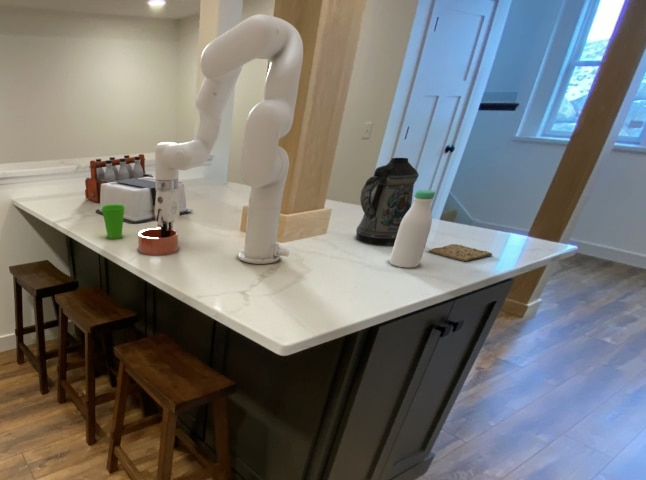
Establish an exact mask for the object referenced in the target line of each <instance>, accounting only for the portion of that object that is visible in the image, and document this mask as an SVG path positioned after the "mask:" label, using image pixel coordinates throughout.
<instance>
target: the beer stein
mask: <svg viewBox="0 0 646 480" xmlns="http://www.w3.org/2000/svg"><path fill="white" fill-rule="evenodd" d="M419 174H420V173H419V172H418V171H417V170H416V168H414V167H413V166H412V164H411V163H410V162H409V158H408V157H393V158H390V161H389V162H388V163H387V164H386V165H381V166H379V167H376V168H375V170H374V172H373V176H371V177H370V178H368V179H367V180H366V181H365V183H364V184H363V186H362V189H361V191H360V198H359V199H360V206H361V209H362V212H363V213H364V214H363V216H362V219H361V221H360V223H359V224H358V226H357V227H356V230H355V231H356V240H357V241H359V242H361V243H363V244H367V245H373V246H383V247H394V243H395V240H396V236H397V233H398V230H399V227H400V223H401V221H402V219H403V217H404V216H405V214H406V213H407V212H408V210H409V209H410V208H411V206H412V204H413V194H414V187H415V183H416V182H417V181H418V179H419V176H420V175H419Z"/></svg>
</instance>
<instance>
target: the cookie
mask: <svg viewBox="0 0 646 480" xmlns="http://www.w3.org/2000/svg"><path fill="white" fill-rule="evenodd" d="M428 252H429V253H433V254H435V255H440V256H443V257H447V258H451V259H454V260H458V261H462V262H469V261H473V260H476V259H482V258H484V257H489V256H493V253H492V252H489V251H486V250H481V249H477V248H473V247H468V246H465V245H462V244H457V243H455V244H454V243H452V244H451V243H450V244H448V245H445V246H441V247H434V248H431V249H429V251H428Z"/></svg>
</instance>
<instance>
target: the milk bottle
mask: <svg viewBox="0 0 646 480" xmlns="http://www.w3.org/2000/svg"><path fill="white" fill-rule="evenodd" d="M435 195H436V191H434V190H429V189H418V190H415V193H414V197H413V201H412V204H411V208H410V209H409V210H408V212H407V213H406V214H405V216H404V217H403V219H402V221H401V223H400V227H399V230H398V233H397V236H396V240H395V243H394V246H392V247H393V248H392V251H391V254H390V258H389V263H390V264H391V265H392V266H394V267H395V266H396V267H400V268H416V267H418V266H419V265H420V263H421V261H422V257H423V254H424V251H425V248H426V245H427V241H428V238H429V235H430V231H431V229H432V228H431V227H432V222H433V216H432V215H433V214H432V209H431V208H432V201H433V200H434V197H435Z"/></svg>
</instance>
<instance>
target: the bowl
mask: <svg viewBox="0 0 646 480" xmlns="http://www.w3.org/2000/svg"><path fill="white" fill-rule="evenodd" d="M169 230H170V237H165V238H161V230H160V227H156V228H147V229H142V230H140V231H139V232H138V233H137V237H138V239H137V240H138V244H137V245H138V252H140V253H141V254H143V255H149V256H165V255H170V254H171V255H172V254H174V253H177V251H178V250H179V249H178V248H179V232H178V231H177V230H175V229H173V228H172V229H169Z"/></svg>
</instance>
